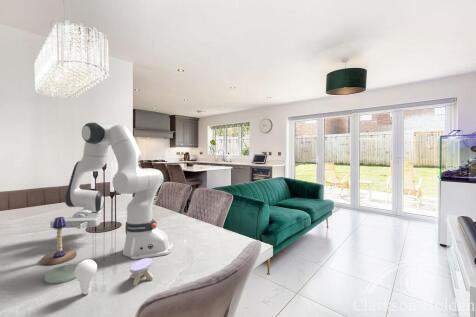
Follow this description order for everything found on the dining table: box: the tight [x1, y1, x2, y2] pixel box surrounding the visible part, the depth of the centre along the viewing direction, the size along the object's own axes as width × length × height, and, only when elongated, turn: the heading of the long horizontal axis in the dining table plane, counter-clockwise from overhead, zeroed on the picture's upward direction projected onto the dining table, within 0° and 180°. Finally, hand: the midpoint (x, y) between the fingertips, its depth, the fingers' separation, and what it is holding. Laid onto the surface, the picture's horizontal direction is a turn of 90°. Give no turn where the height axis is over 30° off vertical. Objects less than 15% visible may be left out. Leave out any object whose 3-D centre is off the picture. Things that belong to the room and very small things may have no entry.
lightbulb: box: [74, 259, 98, 295], centre depth 72 cm, size 6×6×11 cm
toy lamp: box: [52, 216, 66, 258], centre depth 96 cm, size 5×5×17 cm
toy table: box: [129, 257, 154, 286], centre depth 82 cm, size 10×9×6 cm
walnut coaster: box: [40, 249, 77, 266], centre depth 96 cm, size 12×12×1 cm
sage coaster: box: [44, 263, 79, 285], centre depth 83 cm, size 12×12×1 cm
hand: (67, 227), depth 102 cm, fingers open, 8 cm apart
